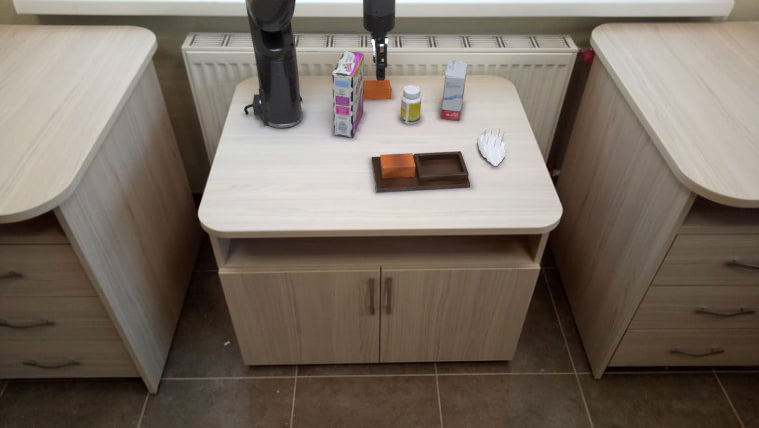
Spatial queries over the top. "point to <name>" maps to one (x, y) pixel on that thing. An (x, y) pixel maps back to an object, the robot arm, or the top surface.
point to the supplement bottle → (411, 104)
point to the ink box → (453, 89)
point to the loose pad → (377, 89)
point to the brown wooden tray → (420, 171)
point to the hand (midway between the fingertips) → (378, 70)
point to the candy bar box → (348, 93)
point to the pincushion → (492, 147)
